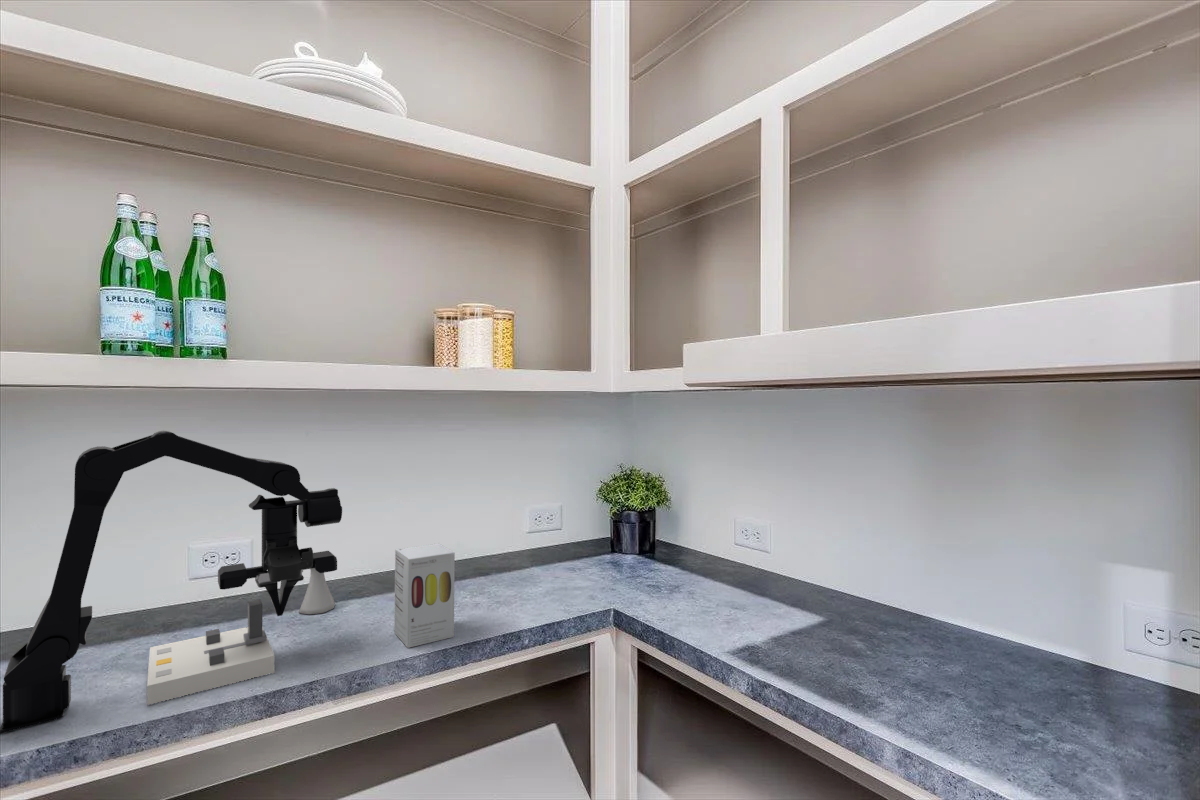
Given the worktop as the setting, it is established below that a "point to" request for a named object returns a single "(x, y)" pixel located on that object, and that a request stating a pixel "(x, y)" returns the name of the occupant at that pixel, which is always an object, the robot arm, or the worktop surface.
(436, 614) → the supplement box
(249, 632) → the handle
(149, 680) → the panel
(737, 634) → the worktop surface
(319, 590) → the flask
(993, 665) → the worktop surface
